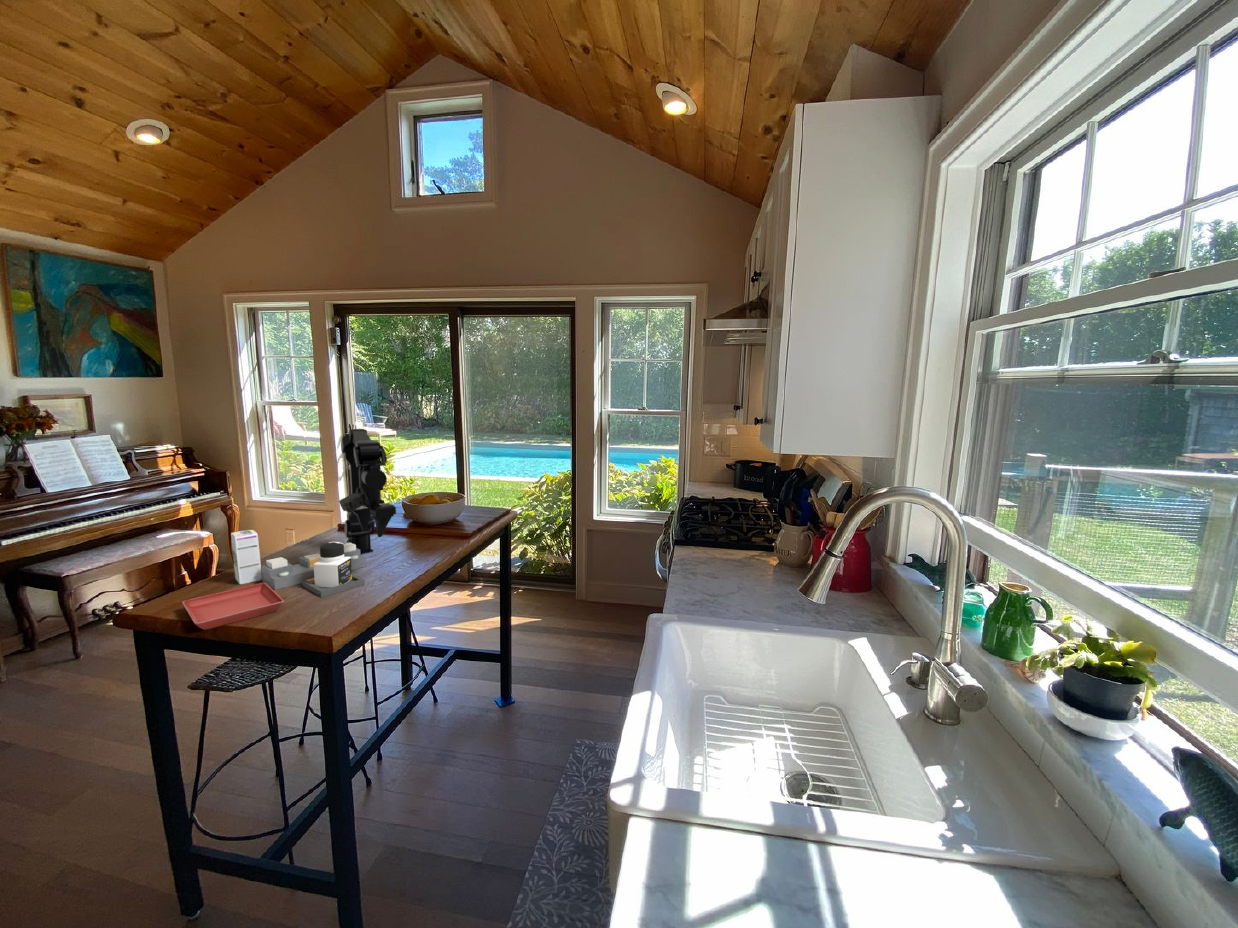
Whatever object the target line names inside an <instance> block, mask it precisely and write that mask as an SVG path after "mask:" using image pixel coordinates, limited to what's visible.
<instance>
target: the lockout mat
mask: <svg viewBox="0 0 1238 928" xmlns="http://www.w3.org/2000/svg"><path fill="white" fill-rule="evenodd" d="M301 584H302V587H303V588H305V589H306V590H308V591H310V592H312V593H313V594H314V595H317V596H319V597H320V598H323V597H328V596H331V595H333V594H337V593H340V592H344V591H348V589H349V590H351V588H352V589H355V588H359V587H363V586H366V582H365V578H362V577H359V576H357V575H355V574H354V573H352V580H350V581H349V582H347V583H346V584H342V585H339V586H335V587H331V588H319V587H317V586H316V585H315V579H314V578H313V579H309V580H305V581H302V583H301Z"/></svg>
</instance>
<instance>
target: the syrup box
mask: <svg viewBox="0 0 1238 928" xmlns="http://www.w3.org/2000/svg"><path fill="white" fill-rule="evenodd" d="M258 535H259V534H258V533H257V532H256V531H255V530H254V529H243V530H240V531H235V532H231V533H230V537H231V549H232V559H233V569H234V579H235V580H236V582H237V583H238V584H239V585H244V584H249V583H250V582H251V583H254V582H259V581H263V579H262V565H261V554H260V552H261V551H260V546H259V545H260V544H259V543H260V542H259V536H258ZM251 583H250V584H251Z"/></svg>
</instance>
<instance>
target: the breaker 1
mask: <svg viewBox="0 0 1238 928" xmlns="http://www.w3.org/2000/svg"><path fill="white" fill-rule="evenodd" d="M265 562H266V565H267V567H268V568H270V569H275V568H279V567H283V566H288V564H287V563H288V560H287V558H284V557H281V556H280V557H276V558H271V559H267V560H265Z"/></svg>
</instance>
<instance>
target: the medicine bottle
mask: <svg viewBox="0 0 1238 928" xmlns="http://www.w3.org/2000/svg"><path fill="white" fill-rule="evenodd" d="M344 544H345V543H343V542H339V541H330V542H325V543H323V544H321V545H320V546H319V553H320V559H321V560H320V561H318V562H316V563H314V579H315V585H316V586H317V587H319V588H331V587H335V586H339V585H342V584H346V583H347V582H349V581H350V580H352V574H353V573H352V572H353V570H352V568H351V557H344Z"/></svg>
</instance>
